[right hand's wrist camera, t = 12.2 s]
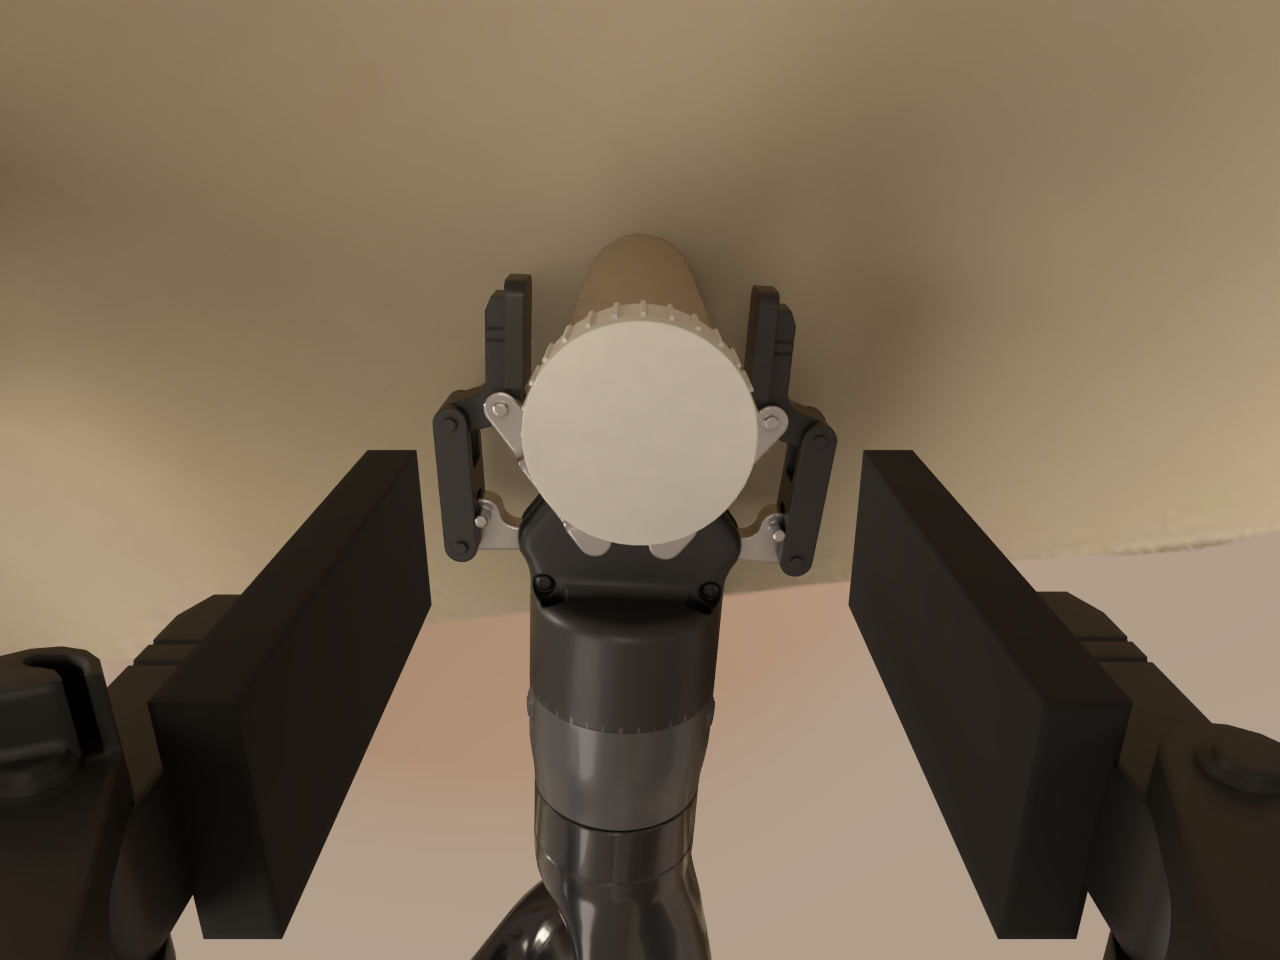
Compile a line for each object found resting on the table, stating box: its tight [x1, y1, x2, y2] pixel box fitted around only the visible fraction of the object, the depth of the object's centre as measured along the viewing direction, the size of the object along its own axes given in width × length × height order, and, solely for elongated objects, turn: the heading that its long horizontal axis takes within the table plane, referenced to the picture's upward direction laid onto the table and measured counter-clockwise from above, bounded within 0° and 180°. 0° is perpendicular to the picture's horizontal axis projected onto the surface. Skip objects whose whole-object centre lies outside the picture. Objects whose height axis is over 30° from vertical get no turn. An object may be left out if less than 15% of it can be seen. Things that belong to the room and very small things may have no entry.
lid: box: [521, 300, 759, 545], centre depth 19 cm, size 5×5×2 cm
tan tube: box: [569, 235, 713, 330], centre depth 28 cm, size 4×4×19 cm
